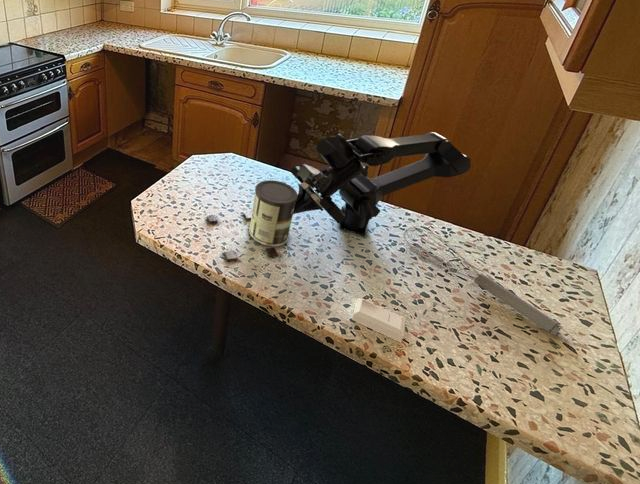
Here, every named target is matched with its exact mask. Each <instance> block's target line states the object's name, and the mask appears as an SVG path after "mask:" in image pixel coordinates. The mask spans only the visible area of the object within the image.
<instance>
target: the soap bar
mask: <svg viewBox="0 0 640 484" xmlns="http://www.w3.org/2000/svg"><path fill="white" fill-rule="evenodd" d="M353 308H354V309H353V312H352V316H351V320H352V321H353V322H356V323H358V324H360V325H362V326H365V327H366V328H368V329H371V330H372V331H375V332H377V333H379V334H381V335H384V336H385V337H388V338H390V339H392V340H394V341H396V342H399V343H402V341H403V339H404V336H405V329H406V318H405V317H403V316H402V315H401V314H400V315H399V314H397V313H395V312H392V311H390V310H388V309H387V308H384V307H382V306H379V305H377V304H374V303H372V302H370V301H368V300H366V299H363V298H359V297H358V298H357V299H356V302H355V304H354V307H353Z"/></svg>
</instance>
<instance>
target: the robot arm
mask: <svg viewBox="0 0 640 484" xmlns="http://www.w3.org/2000/svg"><path fill="white" fill-rule="evenodd" d="M316 152H317V153H318V155H320V157H321V158H322V159H323V160H324V161H325V162H326V163H327V165H328V166H329V167H327V168H326V167H325V166H323V167H320V169H317V168H315V167H313V166H310V165H308V164H306V163H303V164H302V165H301V167H300V166H293V168H291V169H290V170H289V172H290V173H291V175H293V177H295V178H296V179H297V181H299V182H298V183H297V186H298V192H297V200H296V203H295V207H294V212H293V215H296V214H300V213H306V212H312V211H319V210H321V212H323V211H325V212H326V213H327V214H328V215H329V216H330V217H331V218H332V219H333V220H334V221H335V222H336V223H337V224H339V229H340V230H344V231H347V232H352V233H354V234H359V235H362V236H366V235H367V228H368V225H369V222H370V220H372V219H373V218H377V217H378V215H379V214H380V213H381V210H380V208H379V207H378V206H377V205H378V204H379V202H380V200H381V199H382V197H384V196H386V195H389V194H392V193H394V192H398V191H399V190H402V189H406V188H407V187H410V186H413V185H415V184H418V183H421V182H425V181H426V180H429V179H432V178H452V177H456V176H457V177H458V176H461V175H463V174H465V173H468V171H469V170H470V169H471V167H472V164H471V162H472V159H471V158H470V156H469V155H466V154H464V153H462V152H461V151H460V150H459V149H458V148H456V146H454V145H453V143H452V142H451V141H450V140H449V139H448V138H447V137H445V136H443V135H441V134H439V133H437V132H433V131H430V132H428V133H425V134H417V135H410V136H409V135H407V136H400V137H393V138H386V137H382V136H378V135H362V136H359V137H357V138H352V139H346V138H345V136H343V135H341V133H338V134H336V136H327V137H325V138H322V139H321V140H320V141H318V143H317V145H316ZM417 155H425V156H424V157H423V158H422V159H420V160H417V161H416V162H414V163H413V162H412V163H410V164H407V165H405V166H402V167H399V168H396V169H395V170H392V171H389V172H387V173H384V174H382V175H379V176H376V177H374V178H369V177H368V175H369V172H368V171H369V166H370V167H377V166H378V167H379V166H382V165H385V164H388V163H390V162H391V161H392V160H393V159H395V158H396V159H397V158H401V157H402V158H403V157H410V156H417ZM337 192H338V194H339V196H340V198H341V200H342V201H343V202H344V205H342V206H341V208H340V207H339V206H338V205H337V204H336V202H334V201H333V198H332V196H333V195H335V194H336V193H337Z"/></svg>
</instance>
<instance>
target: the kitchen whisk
mask: <svg viewBox="0 0 640 484" xmlns="http://www.w3.org/2000/svg"><path fill="white" fill-rule="evenodd" d="M411 230H414V231H417V232H419V233H421V234H423V235H424V236H425V237H428V238H429V239H430V240H432V241H434V243H436V244H437V245H439V246H440V247H442V248H443V249H444V250H446V251H447V252H448V253H449V254H451V255H452V256H453V257H455V258H456V259H454V258H453V257H452V256H451V255H449V254H448V253H446V252H445V251H443V249H441V248H440V247H437V245H435V244H433V243H432V242H431V241H429V240H427V239H425V238H424V237H423V236H421V235H419V234H417V233H415V232H414V231H411ZM420 230H422V231H424V232H426V233H428V234H430V235H432V236H433V237H435V238H436V239H438V240H439V241H440V242H441V243H443V244H444V245H445V246H447V247H448V248H450V249H451V251H452V252H451V251H450V250H448V249H447V248H446V247H444V246H443V245H442V244H440V243H439V242H438V241H436V240H434V239H433V238H431V236H428V235H427V234H425V233H424V232H422V231H420ZM408 232H410V233H412V234H415V235H416V236H418V237H420V239H421V238H422V239H423V240H424V241H426V242H428V243H430V244H431V245H433V246H434V247H435V248H437V250H439V251H441V252H443V253H444V254H445V255H447V256H448V257H450V258H451V259H452V260H454V261H455V262H457V263H458V264H459V265H461V266H462V267H464V268H465V269H466V270H465V269H464V268H461V266H458V265H456V264H455V263H453V262H452V261H449V260H448V259H447V258H445V257H443V256H442V255H440V254H439V253H437V252H435V251H434V250H432V249H430V248H429V247H427V246H426V245H424V244H423V243H421V242H420V241H419V240H418V239H415V238H414V237H413V236H412V235H410V234H409V233H408ZM402 235H403V239H404V241H405V242H406V244H407V245H408V246H409V247H410V248H411V249H412V250H413V251H414V252H416V253H418V254H419V255H420V256H421V257H423V258H425V259H426V260H428V261H430V262H432V263H434V264H436V265H438V266H441V268H444V269H446V270H449V271H451V272H453V273H456V274H458V275H461V276H464V277H465V278H468V279H471V280H474V281H473V283H475V284H476V285H477V286H479V287H480V288H482V289H483V290H485V291H486V292H488V293H489V294H491V295H492V296H494V297H495V298H496V299H499V300H500V302H503V303H504V304H506V305H507V306H509V307H511V308H512V309H513V310H515V311H516V312H518V313H519V314H521V315H522V316H524V317H525V318H527V319H528V320H530V321H531V322H532V323H534V324H535V325H536V326H539V328H541V329H543V330H545V331H546V332H547V333H551V335H553V336H559V337H560V338H562V339H565V340H566V341H569V342H573V341H574V337H572V336H571V334H570V333H569V332H568V331H566V330H565V329H563V328H564V327H563V325H561V324H559V323H558V322H557V321H556V320H555V319H553V318H552V317H550V316H548V315H547V314H545V313H543V312H542V311H541V310H539V309H538V308H536V307H534V305H532V304H530V303H529V302H527V301H526V300H524V299H523V298H521V297H519V296H517V294H515V293H513V292H511V291H510V290H508V289H507V288H505V287H504V286H503V285H501V284H499V283H497V282H496V281H495V280H493V279H492V278H490V277H488V276H487V275H485V274H484V273H480V274H479V272H478V271H477V270H476V269H475V268H474V267H473V266H472V264H470V263H469V262H468V261H467V260H466V259H465V257H463V256H462V255H461V254H460V253H459V252H458V251H457V250H456V249H454V248H453V247H452V246H451V245H450V244H449V243H448V242H446V241H445V240H444V239H443V238H442V237H440V236H439V235H438V234H436V233H434V232H433V231H431V230H429V229H427V228H425V227H423V226H418V225H413V226H410V227H409V228H407V229H405V230H404V233H402ZM406 235H407V237H408V238H409V239H412V240H415V241H416V242H417V243H416V242H414V245H416V246H417V247H419V248H420V249H421V250H423V251H424V252H426V253H428V255H431V256H432V257H434V258H435V259H436V260H435V259H432V258H431V257H429V256H428V255H425V254H424V253H422V252H420V251H419V250H417V249H416V248H415V247H413V246H412V245H411V244H410V243H408V240H407V238H406ZM418 243H419V244H420V245H422V246H423V247H425V248H426V249H428V250H430V251H431V252H433V253H434V254H436V255H438V256H439V257H441V258H442V259H444V260H445V261H447V262H449V263H450V264H449V263H447V262H445V261H444V260H442V259H440V258H439V257H436V256H435V255H434V254H431V253H430V252H428V250H427V251H426V250H425V249H424V248H422V247H421V246H419V244H418ZM453 252H454V253H456V255H457V256H459V257H457V256H456V255H454V254H453ZM459 258H461V259H462V260H463V261H462V260H460V259H459ZM437 260H439V261H440V262H438V261H437ZM459 261H460V262H459ZM441 262H442V263H441ZM464 262H465V263H466V264H465V263H464ZM443 263H444V264H443ZM461 263H462V264H461ZM445 264H446V265H448V266H446V265H445ZM451 264H452V265H454V266H455V267H454V266H452V265H451ZM464 265H465V266H464ZM449 266H450V267H451V268H450V267H449ZM458 268H459V269H458ZM467 270H468V271H469V272H468V271H467ZM561 330H562V331H563V332H564V333H566V334H567V335H568V336H569V337H570V338H571V339H569V338H566V337H564V336H562V335H560V334H558V333H559V332H560V331H561Z"/></svg>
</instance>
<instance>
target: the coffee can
mask: <svg viewBox="0 0 640 484" xmlns="http://www.w3.org/2000/svg"><path fill="white" fill-rule="evenodd" d="M254 192H255V193H254V198H253V203H252V204H253V205H252V209H251V210H252V211H251V212H252V216H251V220H250V223H249V227H248V233H249V235H250V237H251V238H252V239H253V240H254V241H255V242H257V243H259V244H260V245H264V246H267V247H281V246H282V245H285V244H286V243H287V242H288V241H289V234H290V229H291V226H292V225H291V224H292V220H293V216H294V214H293V212H294V207H295V203H296V200H297V195H298V192H297V190H296V189H295V188H294V187H292V186H291V185H289V184H287V183H285V182H284V181H283V182H282V181H279V180H272V179H268V180H267V179H266V180H263V181H259V182H258V183H257V184H256V185H255V188H254Z"/></svg>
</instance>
